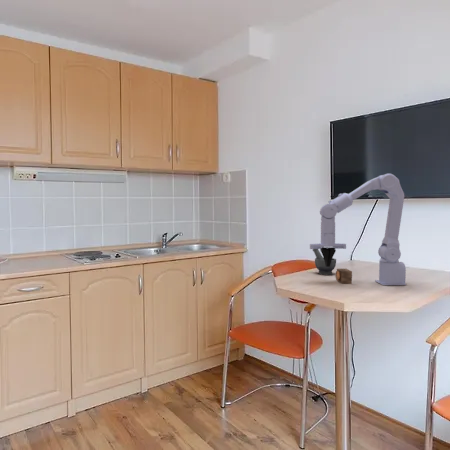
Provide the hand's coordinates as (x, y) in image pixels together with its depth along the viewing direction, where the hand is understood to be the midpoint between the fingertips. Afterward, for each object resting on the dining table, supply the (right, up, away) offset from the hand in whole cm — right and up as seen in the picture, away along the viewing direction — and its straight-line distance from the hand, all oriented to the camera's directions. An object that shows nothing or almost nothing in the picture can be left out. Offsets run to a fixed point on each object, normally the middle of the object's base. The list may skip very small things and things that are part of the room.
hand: (327, 266), depth 161 cm
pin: (+7, -6, +1) cm, 9 cm away
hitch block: (+7, -7, +1) cm, 9 cm away
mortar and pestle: (+3, -6, +20) cm, 21 cm away
